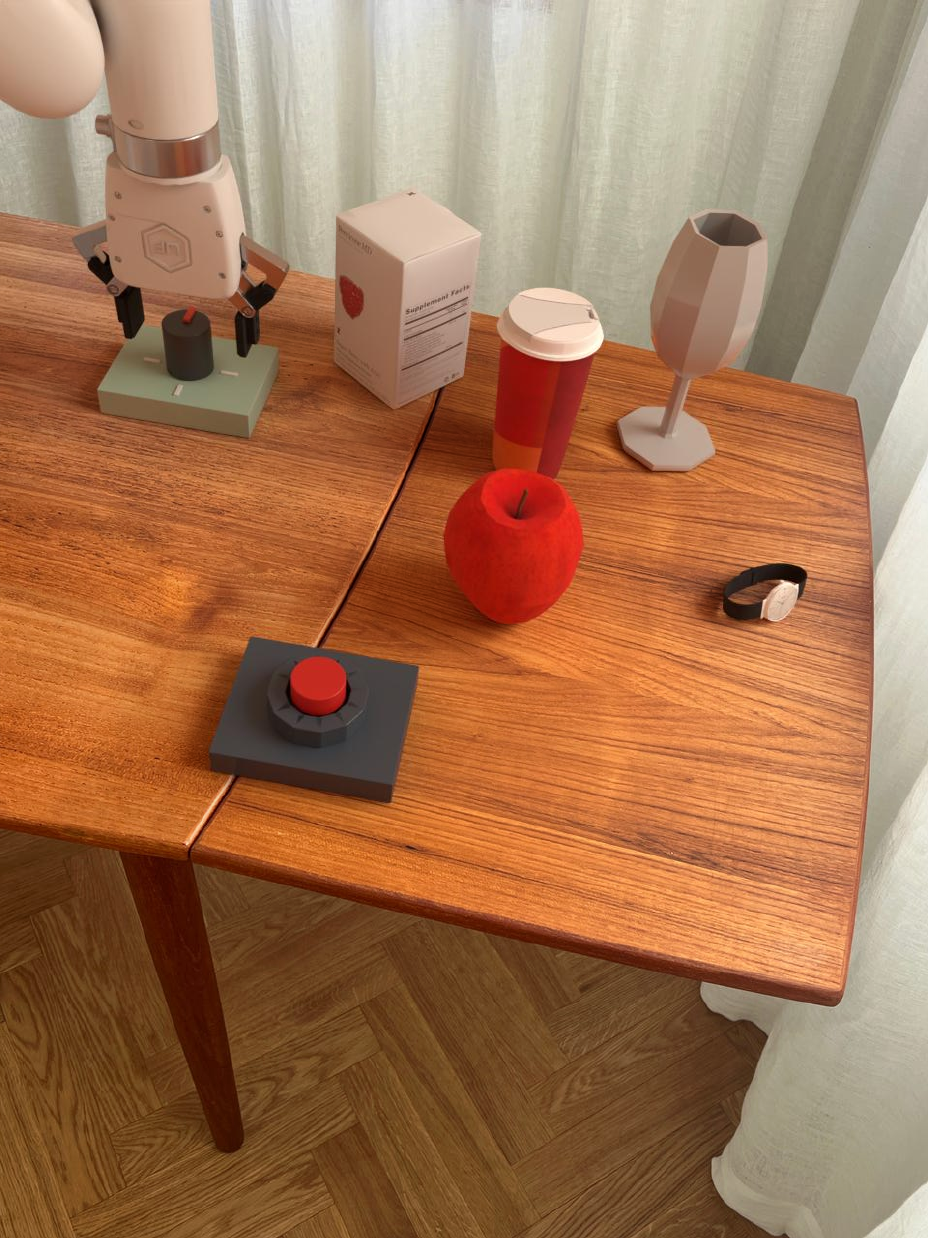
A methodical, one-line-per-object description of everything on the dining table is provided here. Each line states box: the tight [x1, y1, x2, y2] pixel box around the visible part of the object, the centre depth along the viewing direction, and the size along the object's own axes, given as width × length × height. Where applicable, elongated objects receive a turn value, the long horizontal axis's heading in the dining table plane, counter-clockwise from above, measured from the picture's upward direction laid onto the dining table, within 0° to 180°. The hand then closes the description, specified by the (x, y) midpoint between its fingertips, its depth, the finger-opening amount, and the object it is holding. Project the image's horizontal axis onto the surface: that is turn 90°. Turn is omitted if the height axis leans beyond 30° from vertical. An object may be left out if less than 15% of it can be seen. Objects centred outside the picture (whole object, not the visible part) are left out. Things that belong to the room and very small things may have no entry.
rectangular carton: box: [333, 187, 483, 410], centre depth 98 cm, size 9×9×15 cm
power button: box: [290, 657, 346, 716], centre depth 72 cm, size 4×4×2 cm
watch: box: [722, 562, 809, 622], centre depth 86 cm, size 8×5×4 cm, turn 122°
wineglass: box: [615, 208, 769, 472], centre depth 92 cm, size 9×9×21 cm
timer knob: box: [160, 306, 214, 381], centre depth 94 cm, size 4×4×5 cm
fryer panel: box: [96, 323, 280, 439], centre depth 97 cm, size 13×10×3 cm
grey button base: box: [208, 636, 420, 804], centre depth 74 cm, size 12×10×4 cm
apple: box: [442, 468, 585, 625], centre depth 80 cm, size 10×10×12 cm
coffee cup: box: [492, 287, 605, 480], centre depth 91 cm, size 8×8×15 cm
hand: (190, 338), depth 94 cm, fingers open, 9 cm apart
